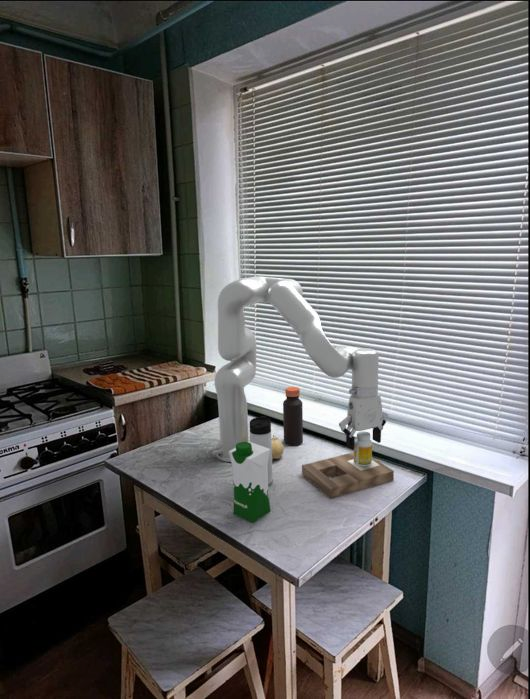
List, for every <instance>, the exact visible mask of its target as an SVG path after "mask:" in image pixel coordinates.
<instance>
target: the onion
mask: <svg viewBox="0 0 530 699" xmlns="http://www.w3.org/2000/svg"><path fill="white" fill-rule="evenodd" d="M271 441H272V461H274V460H278V459H280V458H281V457H282V456H283V454H284V449H285V448H284V444H283V443H282V442H281V440H280V439H278V437H277V436H275V435H274V434H273V435H272V437H271Z"/></svg>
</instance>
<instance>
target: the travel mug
mask: <svg viewBox="0 0 530 699" xmlns="http://www.w3.org/2000/svg"><path fill="white" fill-rule="evenodd" d="M271 422H272V421H271V419H270V418H268V417H267V416H266V415H260V416H258V417H254V418H252V419H251V420H250V421H249V442H252V443H255V444H257V445H260V446H263V447H266V448H269V449H270V453H269V459H268V488H269V487H271V486H272V485H273V481H274V480H273V460H272V441H271V439H272V423H271Z"/></svg>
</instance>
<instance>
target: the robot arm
mask: <svg viewBox="0 0 530 699" xmlns="http://www.w3.org/2000/svg"><path fill="white" fill-rule="evenodd" d="M303 291H304V290H303V287H302V286H301V284H300V283H299V282H298V281H296V280H295V279H292V278H282V277H270V276H269V277H268V276H259V275H257V276H250V277H244V278H239V279H236V280H233V281H231V282H229V283H228V284H226V285H225V286H224V287H223V288H222V289H221V291H220V292H219V295H218V298H217V350H218V353H219V355H220V358H222V359H223V360H225V361H229V362H228V363H226V364H224V365H223V366H221V367H220V368H218V371H216V373H215V375H214V379H213V380H214V381H213V382H214V387H215V391H216V396H217V406H218V421H219V422H218V424H219V441H217V444H216V445H214V446H208V447H206V454H212V455H214V456H216V458H217V459H219V461H220V460H221V461H224V462H228V463H231V459H230V455H229V451H230V450H232V449H234V448H236V444H238V443H240V442H250V439H249V422H248V420H249V418H248V417H249V416H248V402H247V401H248V400H247V396H246V394H245V387H246V386H247V385H249V384H250V383H251V382H252V381H253V380H254V378H255V376H256V372H257V340H256V336H255V334H254V332H253V331H252V330H251V329H250V328H248V327H245V325H246V322H245V321H246V319H245V313H244V308H245V307H248V306H251V305H255V304H256V305H257V304H258V303H263V304H270V305H271V306H272V307H273V308H274V309H275V310H276V312H278V314H279V315H280V316H281V317H282V318H283V319H284V320H285V321H286V323H288V325H289V326H290V327H291V329H292V330H293V331H294V333H296V334H297V337H298V339H299V341H300V343H301V345H302V346H303V347H302V348H303V349H304V351H305V352H306V353H307V355H308V357H309V358H310V360H311V361H313V363H314V364H315V365H316V366H317V367H318V368H319V369H320V371H321V372H322V373H323V374H325V375H327V376H328V377H331V378H334V379H335V378H336V379H337V378H340V377H342V376H344V375H345V374H346V373H347V372H348V371H351V388H350V389H348V393H349V394H350V395H349V399H348V406H347V413H346V414H347V416H346V417H345V418H343V420H341V421H339V422H338V426H339V428H340V430H341V432H342V433H344V434H345V444H346V447H347V448H349V449H351V450H352V451H354V448H355V440H356V438H355V436H354V435H355V434H356V433H357V432H361V431H366V430H371V429H372V441H374V442H375V443H377V444H380V443H381V442H382V441H381V440H382V431H383V430H384V426H385V425H386V423H387V420H388V417H389V414H388V413H387V412H384V411H383V404H382V403H383V402H382V398H381V395H380V393H379V392H378V391H379V361H380V360H379V357H380V356H379V352H378V351H377V350H376V349H373V348H367V347H365V348H364V347H361V348H355V347H351V346H346V345H336V346H334V345H333V344H332V343H331V342H330V340H329V339H328V337H327V336H326V334H325V333H324V331H323V327H322V323H321V317H320V315H319V314H318V312H317V311H316V310H315V309H314V308H313V307H312V306H311V305H310V304H309V302H308V301H307V300H306V299H305V297H303V294H304V292H303ZM356 431H357V432H356Z"/></svg>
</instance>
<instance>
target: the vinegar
mask: <svg viewBox="0 0 530 699" xmlns="http://www.w3.org/2000/svg"><path fill="white" fill-rule="evenodd" d="M284 391H285V397H286V398H285V400H284V401H283V402H282V403H283V404H282V412H283V413H282V414H283V415H282V417H283V418H282V419H283V443H284V444H285V445H286V446H291V447H297V446H300V445H302V444H303V442H304V434H303V432H304V430H303V429H304V428H303V426H304V425H303V424H304V422H303V421H304V420H303V413H304V412H303V401H302V400H301V399H300V398H299V397H300V391H301V390H300V388H299V387H298V386H297V387H296V386H288V387H286V388H285V390H284Z"/></svg>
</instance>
